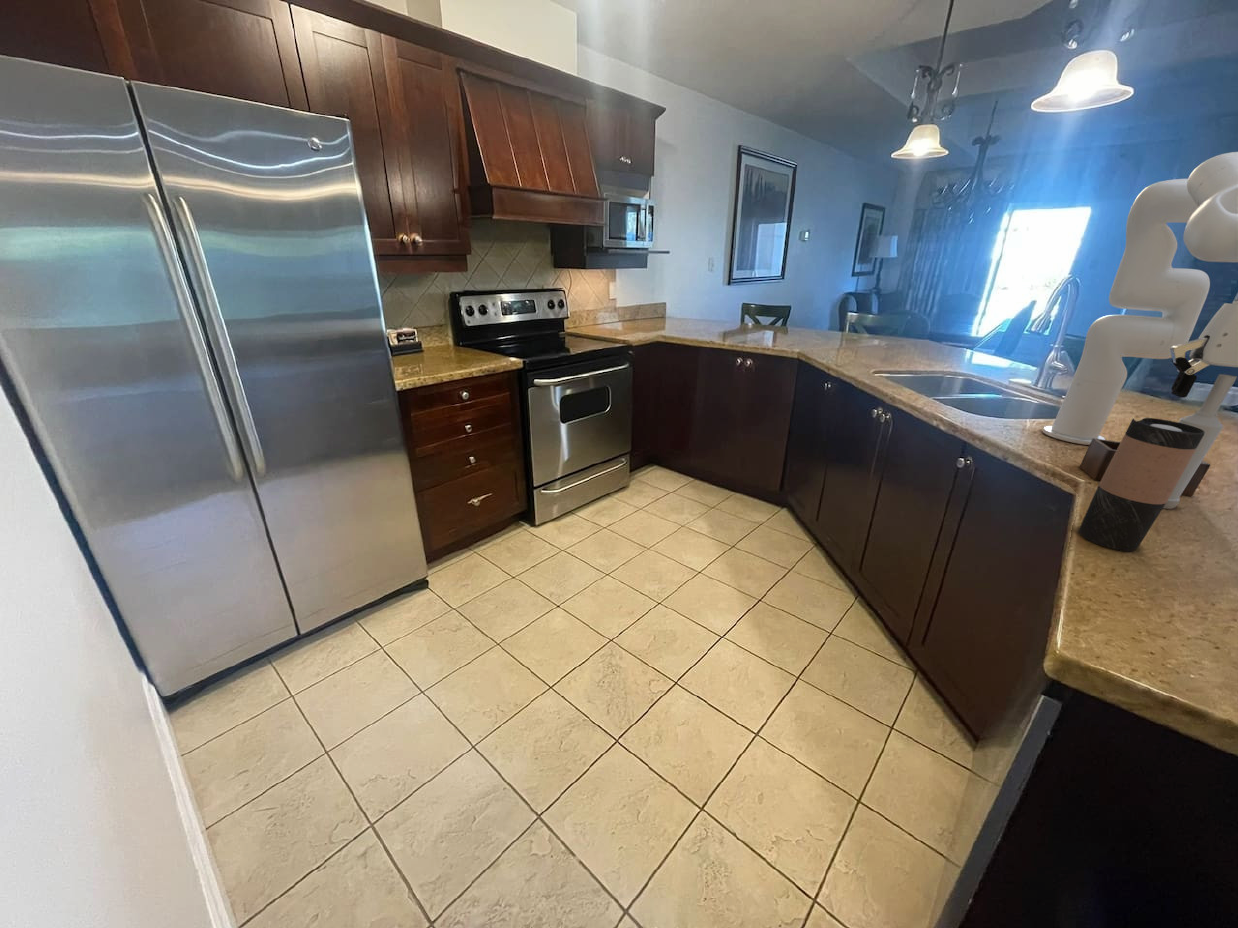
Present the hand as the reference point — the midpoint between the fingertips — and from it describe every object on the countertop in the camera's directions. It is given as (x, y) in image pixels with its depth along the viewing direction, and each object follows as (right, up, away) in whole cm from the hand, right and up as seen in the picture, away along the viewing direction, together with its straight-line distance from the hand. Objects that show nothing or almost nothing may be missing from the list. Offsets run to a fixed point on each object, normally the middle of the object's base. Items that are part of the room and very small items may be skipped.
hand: (1214, 399), depth 83 cm
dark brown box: (+5, -15, +18) cm, 24 cm away
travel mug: (-25, -24, -5) cm, 35 cm away
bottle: (-1, -19, +8) cm, 21 cm away
